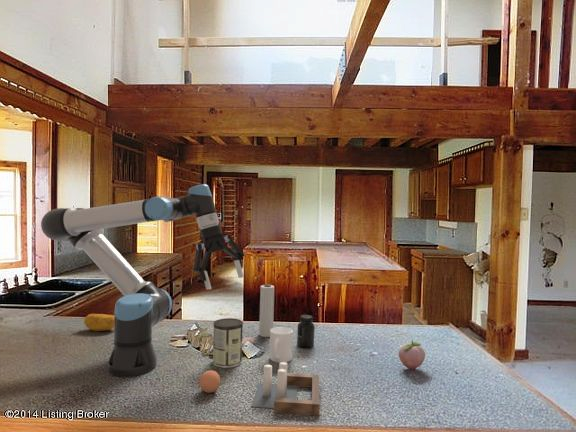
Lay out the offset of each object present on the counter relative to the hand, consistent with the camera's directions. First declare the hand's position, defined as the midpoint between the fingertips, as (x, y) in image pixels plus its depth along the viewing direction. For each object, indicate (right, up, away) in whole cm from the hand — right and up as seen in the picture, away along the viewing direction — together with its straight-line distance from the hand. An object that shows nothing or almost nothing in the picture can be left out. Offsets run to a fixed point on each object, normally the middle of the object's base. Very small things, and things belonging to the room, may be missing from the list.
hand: (225, 283), depth 136 cm
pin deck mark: (+19, -28, -27) cm, 43 cm away
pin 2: (+21, -28, -30) cm, 46 cm away
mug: (+19, -28, -1) cm, 34 cm away
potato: (-58, -25, +25) cm, 68 cm away
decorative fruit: (+65, -29, -6) cm, 72 cm away
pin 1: (+21, -28, -25) cm, 43 cm away
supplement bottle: (+30, -28, +14) cm, 43 cm away
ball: (0, -24, -26) cm, 36 cm away
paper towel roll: (+13, -27, +26) cm, 40 cm away
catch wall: (+26, -28, -28) cm, 47 cm away
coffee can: (+1, -27, -4) cm, 28 cm away
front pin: (+17, -28, -27) cm, 42 cm away
